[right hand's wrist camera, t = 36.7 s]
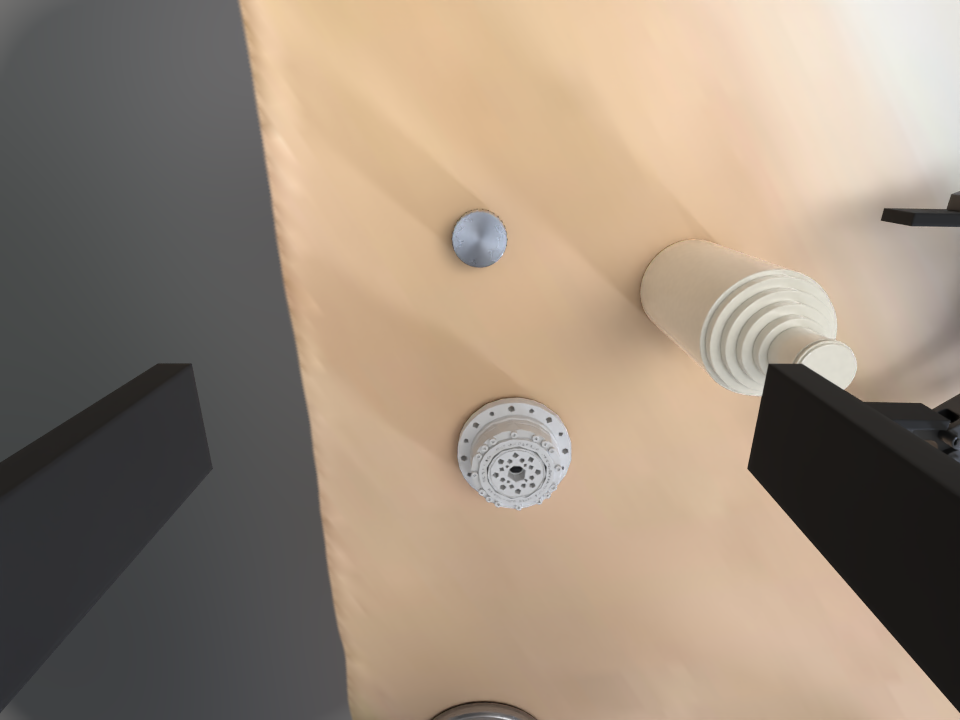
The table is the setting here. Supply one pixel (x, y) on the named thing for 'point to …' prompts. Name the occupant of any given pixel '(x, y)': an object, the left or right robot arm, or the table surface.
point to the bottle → (743, 315)
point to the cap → (479, 238)
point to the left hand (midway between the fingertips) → (866, 322)
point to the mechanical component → (514, 452)
